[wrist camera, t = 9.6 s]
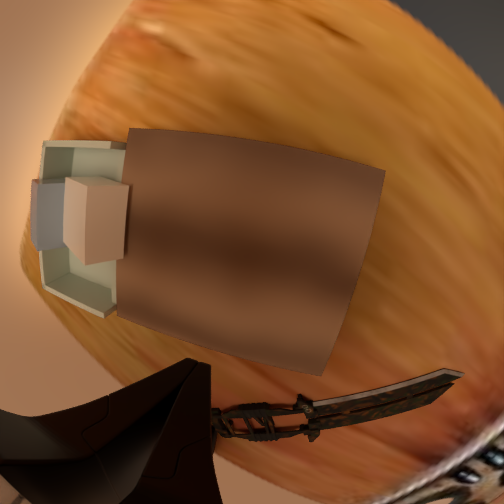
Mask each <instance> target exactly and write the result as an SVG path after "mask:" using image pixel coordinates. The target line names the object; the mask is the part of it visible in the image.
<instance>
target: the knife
mask: <svg viewBox="0 0 504 504" xmlns="http://www.w3.org/2000/svg"><path fill="white" fill-rule="evenodd" d="M463 375H464V373H460V372H456V371H451V370H447V369H442V370H440V371H437V372H434V373H431V374H428V375H425V376H422V377H419V378H416V379H412V380H409V381H406V382H402V383H399V384H395V385H392V386H388V387H384V388H380V389H376V390H372V391H368V392H364V393H359V394H355V395H350V396H345V397H340V398H334V399H329V400H323V401H317V402H313V400H311V401H303V399H302V395H301V394H297V395H298V398H297V403H296V404H294V405H293V410H289V409H282V408H277V409H269V406H270V404H268V403H266V402H263V403H256V404H255V403H252V404H241V405H239V406H238V409H237V410H230V411H229V412H226V413H223V414H222V415H221V411H220V409H219V408H212V409H211V421H212V424H213V426H214V428H215V430H216V432H218V433H219V434H220V435H221V436H222V437H224V438H231V437H238V438H243V439H248V440H249V441H255V442H257V441H267V440H270V441H272V440H275V441H278V439H279V438H287V437H292V436H295V435H298V434H300V433H304V435H308V439H309V442H313V441H314V440H315V439H316V438H317V437H318V436H319V435H320V430H323V429H330V428H336V427H342V426H348V425H353V424H358V423H363V422H367V421H372V420H376V419H380V418H384V417H388V416H392V415H395V414H399V413H403V412H406V411H409V410H413V409H416V408H419V407H422V406H425V405H428V404H431V403H432V402H433V401H435V400H436V399H437V398H438V397H439V396H441V395H442V394H443V393H444V392H445V391H447V390H448V389H449V388H450V387H451V386H452V385H454V384H455V383H449V384H446V385H444V386H441V387H438V388H435V389H433V390H430V391H427V392H424V393H421V394H417V395H414V396H413V394H416V393H419V392H422V391H425V390H428V389H431V388H434V387H437V386H440V385H443V384H445V383H448V382H450V381H453V380H456V379H458V378H461V377H462V376H463ZM406 396H407V397H406ZM403 397H406V398H404V399H401V400H397V401H394V402H390V403H386V404H382V405H378V406H374V407H370V408H365V409H361V410H356V411H351V412H350V410H354V409H359V408H364V407H368V406H372V405H377V404H381V403H385V402H388V401H392V400H396V399H399V398H403ZM339 412H341V414H335V415H329V416H323V417H319V416H321V415H327V414H333V413H339ZM298 413H304V414H305V415H306V419H308V418H312V419H308V425H304V424H301V425H300V428H299V430H294V431H283V432H275V430H274V425H275V424H274V421H273V420H272V416H280V415H290V414H298ZM262 417H263V420H264V423H263V421H262V420H261V419H260V418H262ZM315 417H317V418H315ZM227 418H243V419H244V421H245V423H246V425H247V427H248V429H249V431H250V433H248V434H235V432H234V430H233V429H232V427H231V425H232V423H233V421H232V420H229V421H228V419H227ZM247 418H249V419H251V418H254V419H255V420H256V421H257V422H258V423H260V424H261V425H262V426H265V429H266V433H265V432H262V433H259V432H257V433H254V431H253V429H252V427H251V425H250V423H249V421H248V419H247ZM222 419H223V420H224V422H225V423H226V425H227V427H228V429H227V428H226V426H225V424H224V423H223V421H222ZM267 421H268V422H267ZM268 423H269V424H270V428H271V432H270V431H269V427H268Z"/></svg>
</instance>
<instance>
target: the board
mask: <svg viewBox="0 0 504 504" xmlns="http://www.w3.org/2000/svg"><path fill="white" fill-rule="evenodd" d="M385 172H386V171H385V170H381V169H378V168H375V167H371V166H368V165H364V164H361V163H357V162H353V161H350V160H346V159H342V158H338V157H334V156H330V155H326V154H322V153H317V152H313V151H308V150H304V149H299V148H294V147H289V146H284V145H279V144H273V143H268V142H262V141H256V140H250V139H243V138H237V137H230V136H222V135H214V134H205V133H196V132H186V131H174V130H160V129H141V128H129V133H128V139H127V145H126V151H125V158H124V165H123V172H122V181H121V183H122V184H125V185H129V191H128V200H127V210H126V222H125V236H124V255H123V259H118V260H116V304H117V316H119V317H121V318H124V319H126V320H129V321H131V322H134V323H136V324H139V325H142V326H144V327H147V328H150V329H152V330H155V331H158V332H160V333H163V334H166V335H169V336H172V337H175V338H177V339H180V340H183V341H186V342H189V343H193V344H196V345H199V346H202V347H205V348H208V349H212V350H215V351H218V352H222V353H225V354H229V355H232V356H236V357H239V358H243V359H247V360H250V361H254V362H258V363H262V364H266V365H270V366H274V367H279V368H283V369H288V370H292V371H297V372H301V373H306V374H311V375H316V376H321V375H322V373H323V371H324V368H325V366H326V364H327V361H328V359H329V357H330V354H331V352H332V349H333V347H334V344H335V342H336V339H337V337H338V334H339V331H340V329H341V326H342V323H343V321H344V318H345V315H346V312H347V310H348V307H349V304H350V301H351V298H352V295H353V292H354V289H355V286H356V283H357V280H358V277H359V273H360V270H361V267H362V264H363V260H364V257H365V254H366V250H367V247H368V243H369V239H370V236H371V232H372V228H373V224H374V220H375V217H376V212H377V208H378V204H379V200H380V195H381V191H382V186H383V182H384V177H385Z"/></svg>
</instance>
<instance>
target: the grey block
mask: <svg viewBox="0 0 504 504" xmlns="http://www.w3.org/2000/svg"><path fill="white" fill-rule="evenodd" d="M65 179H66V178H56V179H33V180H32V185H31V240H32V242H33V244H34V246H35V248H36V250H37V251H43V250H50V249H56V248H63V247H67V245H66V244H65V243H64V242H63V213H64V192H65Z"/></svg>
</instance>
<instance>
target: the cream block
mask: <svg viewBox="0 0 504 504" xmlns="http://www.w3.org/2000/svg"><path fill="white" fill-rule="evenodd" d="M128 191H129V185H125V184H122V183H119V182H116V181H113V180H110V179H106V178H103V177H100V176H87V177H66V179H65V192H64V213H63V242H64V243H65V244H66V245H67V247H68V248H69V249H70V250H71V251H72V252H73V253H74V254H75V255H76V256H77V258H78V259H79V260H80V261H81V262H82V263H83V264H84V265H91V264H96V263H101V262H107V261H112V260H118V259H123V255H124V236H125V222H126V210H127V200H128Z"/></svg>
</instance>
